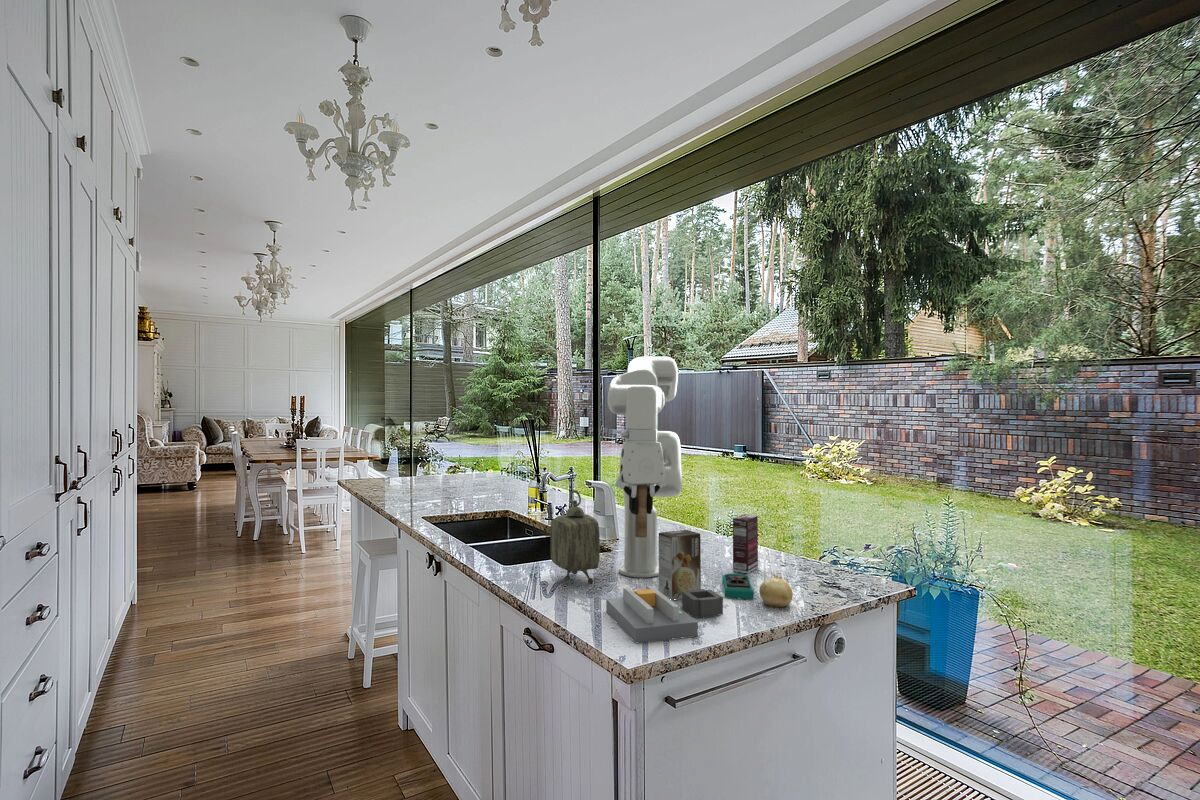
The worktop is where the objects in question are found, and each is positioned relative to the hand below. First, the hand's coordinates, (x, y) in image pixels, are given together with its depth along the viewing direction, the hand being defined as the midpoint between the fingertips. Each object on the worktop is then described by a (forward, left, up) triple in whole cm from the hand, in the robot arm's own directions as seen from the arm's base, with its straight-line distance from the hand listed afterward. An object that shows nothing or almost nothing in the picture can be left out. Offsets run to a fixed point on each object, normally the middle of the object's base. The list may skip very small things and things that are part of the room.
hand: (640, 512), depth 148 cm
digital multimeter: (-7, +30, -24) cm, 39 cm away
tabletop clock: (-28, -9, -23) cm, 37 cm away
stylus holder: (+5, +14, -23) cm, 27 cm away
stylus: (0, 0, -6) cm, 6 cm away
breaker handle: (+6, -1, -20) cm, 21 cm away
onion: (+5, +34, -23) cm, 41 cm away
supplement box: (-25, +43, -23) cm, 54 cm away
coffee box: (-8, +14, -23) cm, 28 cm away
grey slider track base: (+9, -1, -23) cm, 25 cm away
